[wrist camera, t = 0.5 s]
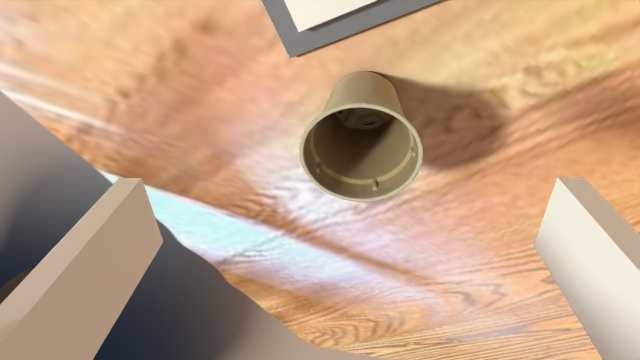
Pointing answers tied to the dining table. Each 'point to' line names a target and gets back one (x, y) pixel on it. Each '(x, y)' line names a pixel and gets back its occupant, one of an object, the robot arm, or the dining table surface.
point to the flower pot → (361, 141)
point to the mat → (335, 22)
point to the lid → (320, 10)
